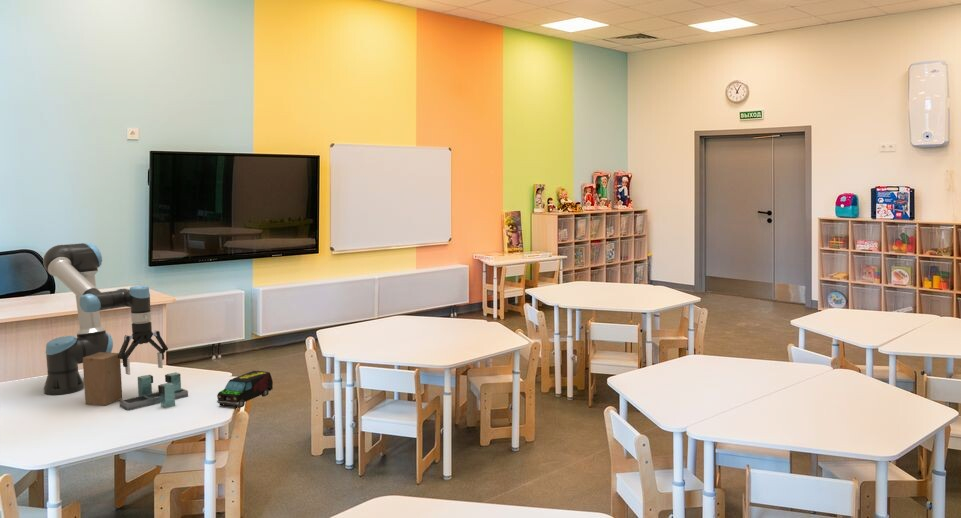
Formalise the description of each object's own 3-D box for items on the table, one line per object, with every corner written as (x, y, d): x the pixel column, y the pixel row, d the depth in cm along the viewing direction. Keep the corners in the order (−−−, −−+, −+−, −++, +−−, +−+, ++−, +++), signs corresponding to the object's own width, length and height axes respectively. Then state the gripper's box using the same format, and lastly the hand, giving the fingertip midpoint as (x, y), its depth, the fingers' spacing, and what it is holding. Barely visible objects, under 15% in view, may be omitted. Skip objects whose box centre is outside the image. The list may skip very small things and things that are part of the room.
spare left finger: (158, 406, 283) (157, 385, 282) (170, 403, 286) (169, 382, 286) (163, 408, 280) (162, 386, 279) (175, 405, 284) (174, 384, 283)
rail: (119, 406, 282) (118, 382, 281) (179, 392, 301) (178, 370, 300) (128, 410, 277) (126, 386, 276) (188, 396, 296) (187, 373, 295)
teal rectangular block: (138, 397, 295) (137, 376, 294) (150, 394, 299) (149, 374, 298) (142, 399, 292) (141, 378, 291) (154, 396, 296) (153, 376, 295)
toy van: (215, 407, 282) (215, 383, 281) (254, 390, 306) (253, 368, 305) (237, 409, 279) (236, 385, 278) (274, 392, 302) (273, 370, 301)
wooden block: (105, 405, 283) (103, 358, 281) (84, 404, 285) (82, 357, 283) (122, 398, 293) (120, 352, 291) (102, 397, 295) (99, 351, 293)
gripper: (114, 327, 280) (117, 378, 282) (174, 318, 299) (177, 366, 301) (106, 325, 285) (110, 375, 287) (166, 316, 304) (169, 363, 306)
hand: (144, 370), depth 294 cm, fingers open, 13 cm apart
